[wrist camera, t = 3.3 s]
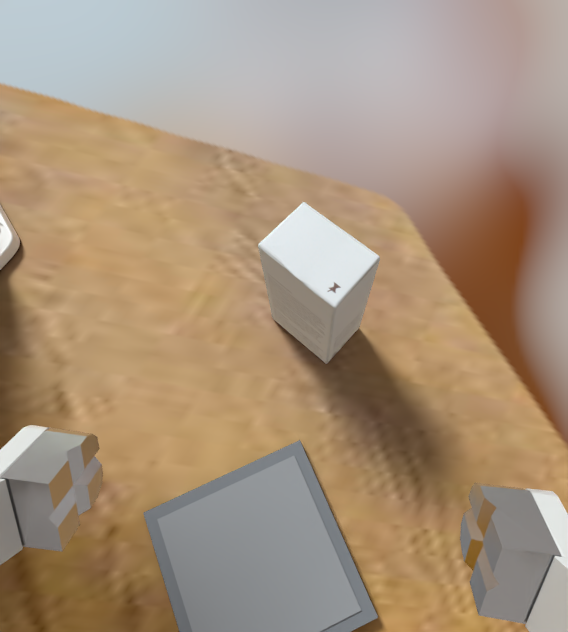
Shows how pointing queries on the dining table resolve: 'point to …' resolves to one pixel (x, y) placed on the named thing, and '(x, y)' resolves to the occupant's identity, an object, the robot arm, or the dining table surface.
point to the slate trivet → (258, 553)
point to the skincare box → (317, 280)
